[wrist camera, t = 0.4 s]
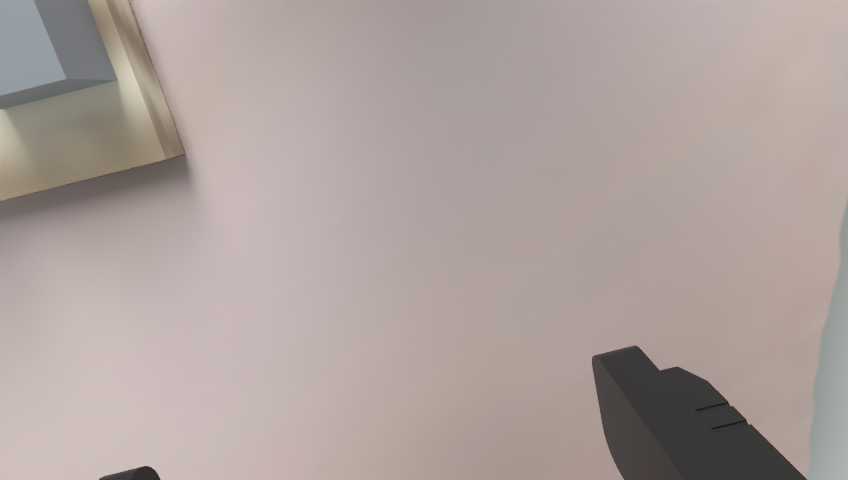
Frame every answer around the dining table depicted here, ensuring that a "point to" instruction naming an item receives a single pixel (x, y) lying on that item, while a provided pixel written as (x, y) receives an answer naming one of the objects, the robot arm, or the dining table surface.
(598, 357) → the robot arm
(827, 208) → the dining table surface
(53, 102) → the tunnel deck
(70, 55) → the grey block
